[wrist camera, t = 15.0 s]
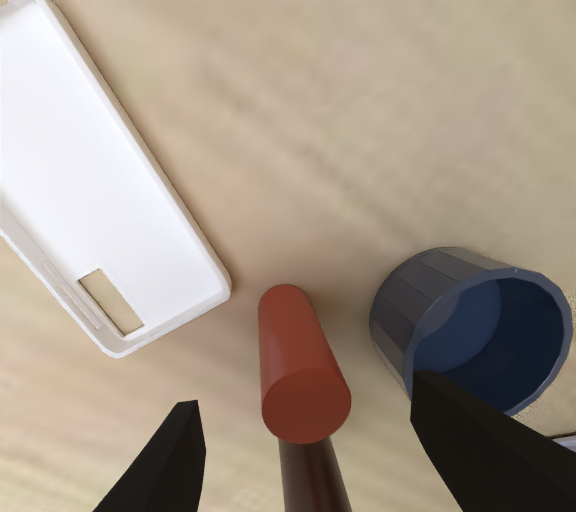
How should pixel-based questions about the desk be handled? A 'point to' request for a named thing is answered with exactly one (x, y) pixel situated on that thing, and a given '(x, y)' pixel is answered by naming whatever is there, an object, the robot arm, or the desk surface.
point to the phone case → (91, 189)
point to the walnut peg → (312, 478)
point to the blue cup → (473, 326)
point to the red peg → (298, 370)
